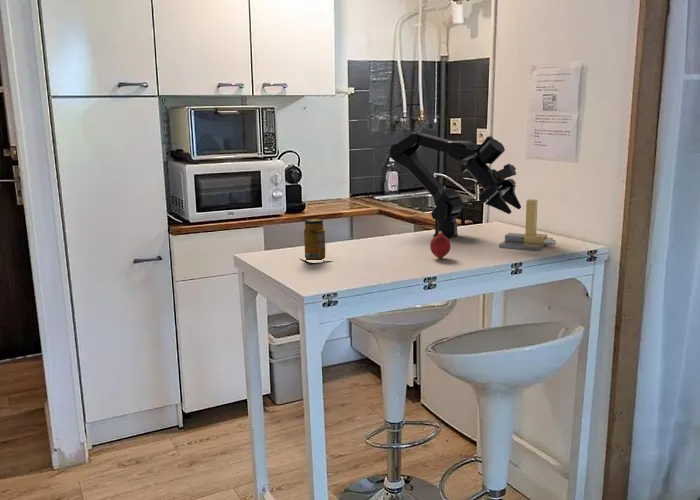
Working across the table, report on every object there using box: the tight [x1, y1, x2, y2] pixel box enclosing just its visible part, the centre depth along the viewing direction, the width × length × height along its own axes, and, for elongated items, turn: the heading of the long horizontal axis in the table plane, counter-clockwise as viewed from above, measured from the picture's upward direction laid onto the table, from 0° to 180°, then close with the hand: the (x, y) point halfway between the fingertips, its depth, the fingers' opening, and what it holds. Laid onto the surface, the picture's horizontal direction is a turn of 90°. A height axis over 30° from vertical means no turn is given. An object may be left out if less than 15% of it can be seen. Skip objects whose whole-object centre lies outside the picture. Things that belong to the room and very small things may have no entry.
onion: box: [429, 231, 452, 260], centre depth 190 cm, size 6×6×8 cm
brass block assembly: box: [523, 199, 554, 249], centre depth 207 cm, size 12×11×14 cm
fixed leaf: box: [498, 232, 556, 252], centre depth 202 cm, size 15×9×3 cm, turn 58°
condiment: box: [303, 218, 326, 260], centre depth 193 cm, size 7×8×12 cm
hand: (515, 210), depth 205 cm, fingers open, 9 cm apart
